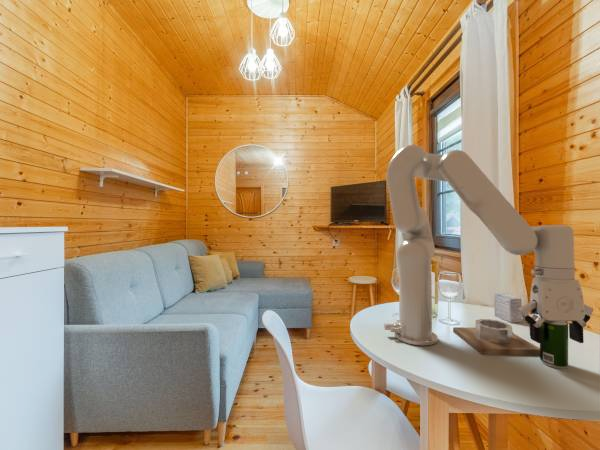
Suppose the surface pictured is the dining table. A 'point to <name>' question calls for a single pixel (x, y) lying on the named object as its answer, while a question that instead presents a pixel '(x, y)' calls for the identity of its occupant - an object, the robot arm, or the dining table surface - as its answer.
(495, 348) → the walnut stand
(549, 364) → the beer can
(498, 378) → the dining table surface
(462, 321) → the dining table surface
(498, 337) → the can sleeve
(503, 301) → the medicine box
